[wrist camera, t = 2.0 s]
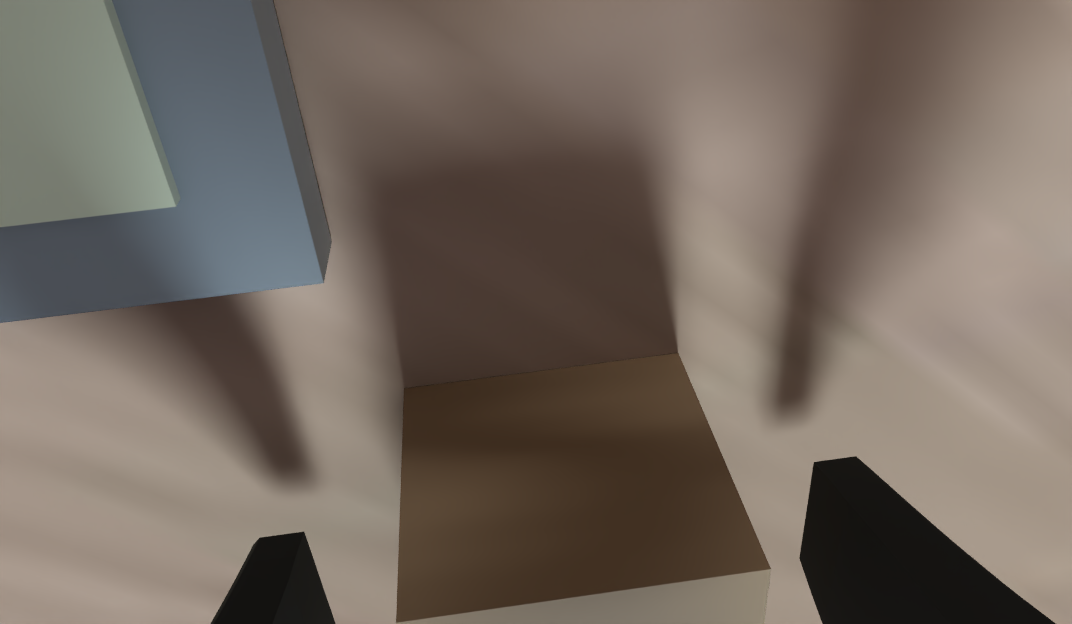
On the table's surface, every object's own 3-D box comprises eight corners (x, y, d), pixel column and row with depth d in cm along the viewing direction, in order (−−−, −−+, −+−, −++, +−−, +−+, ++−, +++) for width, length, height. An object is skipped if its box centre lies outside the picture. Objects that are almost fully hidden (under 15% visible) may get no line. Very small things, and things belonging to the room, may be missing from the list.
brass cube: (442, 566, 14) (448, 811, 11) (404, 384, 12) (396, 622, 9) (672, 534, 14) (746, 765, 11) (676, 350, 12) (770, 568, 9)
